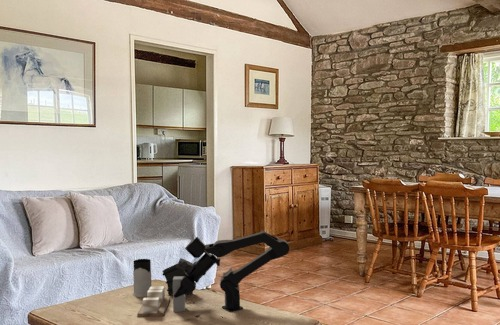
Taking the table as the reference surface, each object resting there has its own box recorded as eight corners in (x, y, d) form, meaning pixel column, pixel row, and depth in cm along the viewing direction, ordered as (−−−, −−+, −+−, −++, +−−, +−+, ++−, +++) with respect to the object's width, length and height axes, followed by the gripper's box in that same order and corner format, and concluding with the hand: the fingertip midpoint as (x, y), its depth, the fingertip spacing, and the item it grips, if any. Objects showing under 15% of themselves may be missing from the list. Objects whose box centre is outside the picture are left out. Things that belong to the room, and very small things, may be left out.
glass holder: (130, 296, 213) (129, 263, 212) (138, 287, 227) (138, 255, 227) (150, 296, 213) (149, 263, 212) (157, 287, 227) (156, 255, 226)
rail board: (169, 299, 208) (169, 285, 208) (163, 316, 188) (162, 300, 188) (146, 300, 208) (146, 285, 208) (137, 316, 188) (137, 300, 188)
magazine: (197, 292, 213) (183, 261, 213) (172, 303, 215) (157, 273, 216) (200, 289, 216) (185, 259, 217) (174, 301, 219) (160, 271, 219)
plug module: (185, 307, 198) (184, 276, 197) (184, 311, 193) (183, 279, 193) (174, 307, 197) (173, 276, 197) (172, 311, 193) (172, 279, 193)
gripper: (190, 247, 204) (164, 273, 204) (186, 257, 185) (157, 286, 185) (209, 265, 205) (183, 291, 205) (207, 277, 186) (178, 306, 186)
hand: (175, 293), depth 195 cm, fingers open, 9 cm apart
